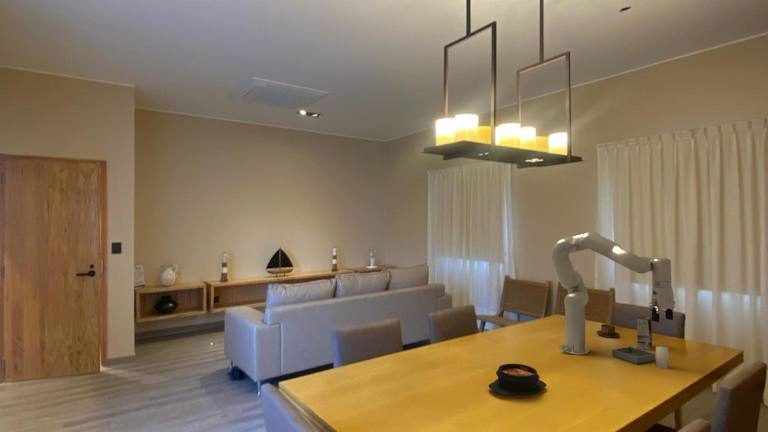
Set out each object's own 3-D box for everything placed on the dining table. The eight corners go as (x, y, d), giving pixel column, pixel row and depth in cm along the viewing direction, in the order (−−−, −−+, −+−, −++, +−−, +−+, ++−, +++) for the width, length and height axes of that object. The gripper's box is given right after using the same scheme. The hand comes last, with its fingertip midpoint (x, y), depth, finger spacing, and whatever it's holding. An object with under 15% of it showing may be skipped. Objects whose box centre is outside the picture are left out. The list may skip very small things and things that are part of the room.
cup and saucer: (622, 339, 242) (622, 328, 242) (600, 338, 245) (600, 327, 245) (615, 334, 254) (615, 323, 254) (594, 332, 257) (594, 322, 257)
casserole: (523, 377, 185) (523, 358, 185) (557, 392, 168) (557, 371, 168) (478, 387, 173) (478, 367, 173) (510, 405, 157) (510, 382, 157)
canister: (664, 369, 194) (663, 349, 194) (653, 365, 198) (653, 346, 199) (671, 367, 196) (670, 348, 196) (660, 364, 200) (660, 345, 201)
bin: (636, 364, 200) (636, 357, 200) (612, 356, 212) (612, 349, 212) (655, 361, 205) (655, 353, 205) (630, 353, 217) (629, 346, 217)
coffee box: (651, 350, 221) (650, 320, 221) (636, 348, 225) (636, 318, 225) (652, 346, 228) (652, 317, 228) (638, 344, 232) (638, 315, 232)
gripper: (657, 286, 191) (658, 324, 190) (681, 283, 197) (682, 320, 197) (641, 284, 197) (642, 320, 197) (665, 281, 204) (666, 317, 204)
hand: (662, 320), depth 197 cm, fingers open, 9 cm apart
